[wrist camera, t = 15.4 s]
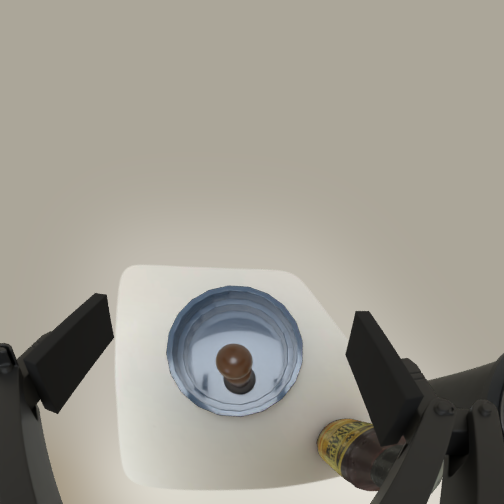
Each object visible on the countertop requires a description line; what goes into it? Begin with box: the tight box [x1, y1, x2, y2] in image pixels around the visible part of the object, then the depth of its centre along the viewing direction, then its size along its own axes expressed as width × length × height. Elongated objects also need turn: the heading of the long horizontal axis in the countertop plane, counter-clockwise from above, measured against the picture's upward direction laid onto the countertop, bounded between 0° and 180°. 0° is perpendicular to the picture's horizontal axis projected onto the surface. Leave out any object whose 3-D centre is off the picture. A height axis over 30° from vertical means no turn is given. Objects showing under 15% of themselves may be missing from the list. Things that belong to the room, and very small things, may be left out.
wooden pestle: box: [216, 344, 256, 395], centre depth 24 cm, size 4×4×19 cm
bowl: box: [166, 286, 303, 417], centre depth 32 cm, size 14×14×6 cm
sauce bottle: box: [317, 419, 444, 493], centre depth 20 cm, size 7×6×20 cm
